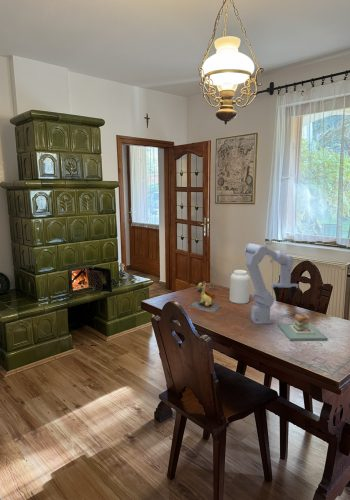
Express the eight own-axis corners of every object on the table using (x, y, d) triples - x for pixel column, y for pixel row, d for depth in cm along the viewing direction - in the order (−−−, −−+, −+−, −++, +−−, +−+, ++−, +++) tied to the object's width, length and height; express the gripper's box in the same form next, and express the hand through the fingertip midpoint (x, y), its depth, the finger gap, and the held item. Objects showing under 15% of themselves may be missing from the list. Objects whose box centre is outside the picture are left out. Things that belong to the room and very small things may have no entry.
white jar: (242, 305, 213) (244, 274, 209) (225, 301, 221) (226, 270, 217) (252, 300, 222) (254, 270, 219) (235, 296, 230) (236, 267, 227)
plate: (290, 340, 163) (290, 336, 163) (277, 326, 181) (277, 322, 180) (327, 340, 164) (327, 336, 163) (311, 325, 181) (311, 321, 181)
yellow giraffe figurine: (198, 300, 223) (199, 276, 219) (224, 306, 213) (225, 281, 210) (186, 308, 209) (187, 283, 206) (213, 314, 200) (214, 288, 197)
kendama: (208, 293, 224) (196, 283, 242) (209, 301, 226) (197, 291, 244) (216, 291, 226) (203, 281, 244) (217, 299, 227) (204, 289, 246)
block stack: (298, 332, 170) (299, 318, 168) (294, 328, 174) (295, 314, 173) (308, 332, 170) (309, 318, 168) (304, 328, 175) (305, 314, 173)
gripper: (274, 278, 188) (273, 302, 190) (300, 278, 188) (299, 302, 190) (270, 275, 194) (269, 298, 197) (295, 275, 195) (294, 298, 197)
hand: (283, 299), depth 194 cm, fingers open, 7 cm apart
